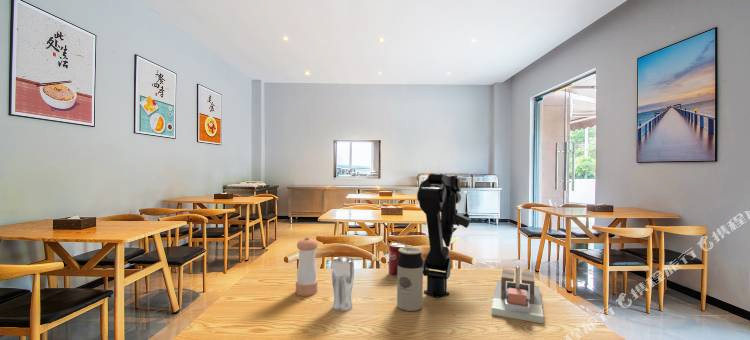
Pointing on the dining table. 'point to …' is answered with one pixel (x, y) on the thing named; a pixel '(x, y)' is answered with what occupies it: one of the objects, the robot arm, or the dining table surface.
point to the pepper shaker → (306, 268)
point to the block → (517, 296)
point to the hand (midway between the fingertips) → (447, 246)
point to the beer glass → (342, 282)
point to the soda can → (394, 257)
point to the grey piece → (513, 306)
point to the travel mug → (410, 279)
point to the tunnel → (509, 276)
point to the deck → (533, 315)
